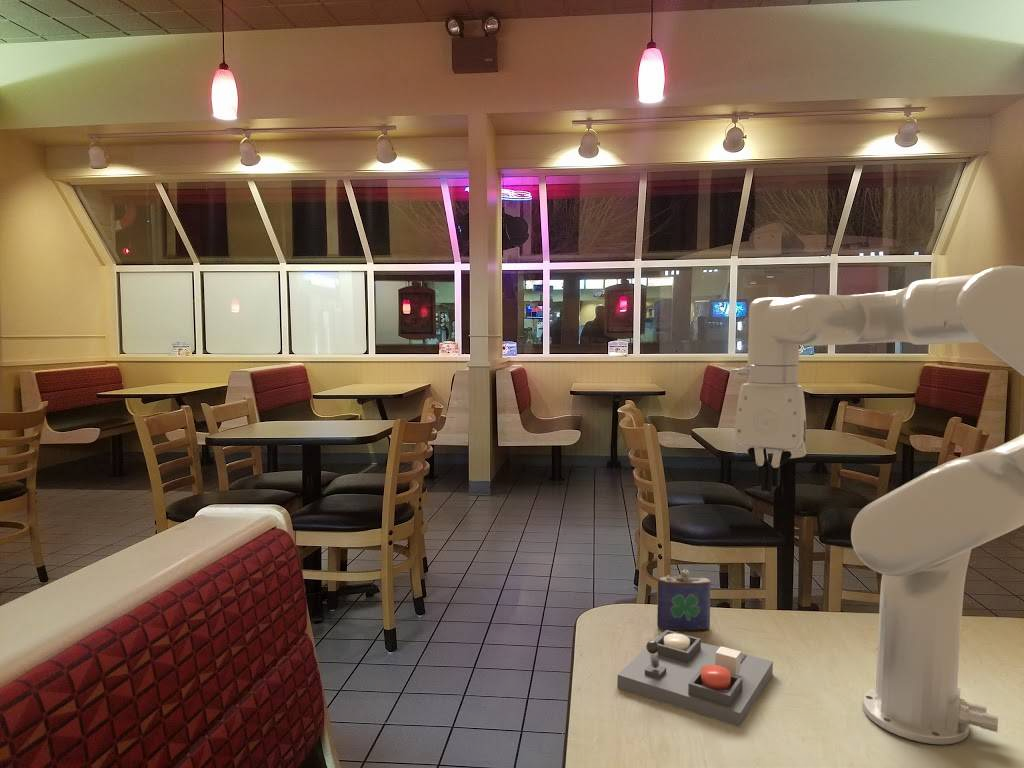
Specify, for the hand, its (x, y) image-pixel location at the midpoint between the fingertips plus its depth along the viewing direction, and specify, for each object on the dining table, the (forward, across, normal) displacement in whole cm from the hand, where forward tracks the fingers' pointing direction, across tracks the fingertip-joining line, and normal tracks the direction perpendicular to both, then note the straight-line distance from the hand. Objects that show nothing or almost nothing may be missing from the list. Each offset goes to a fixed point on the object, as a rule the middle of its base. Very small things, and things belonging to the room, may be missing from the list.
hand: (768, 489), depth 111 cm
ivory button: (+25, -10, -11) cm, 29 cm away
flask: (+27, -14, +1) cm, 31 cm away
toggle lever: (+24, -10, -20) cm, 33 cm away
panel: (+27, -6, -15) cm, 32 cm away
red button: (+24, -1, -20) cm, 31 cm away
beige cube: (+25, -1, -14) cm, 29 cm away
